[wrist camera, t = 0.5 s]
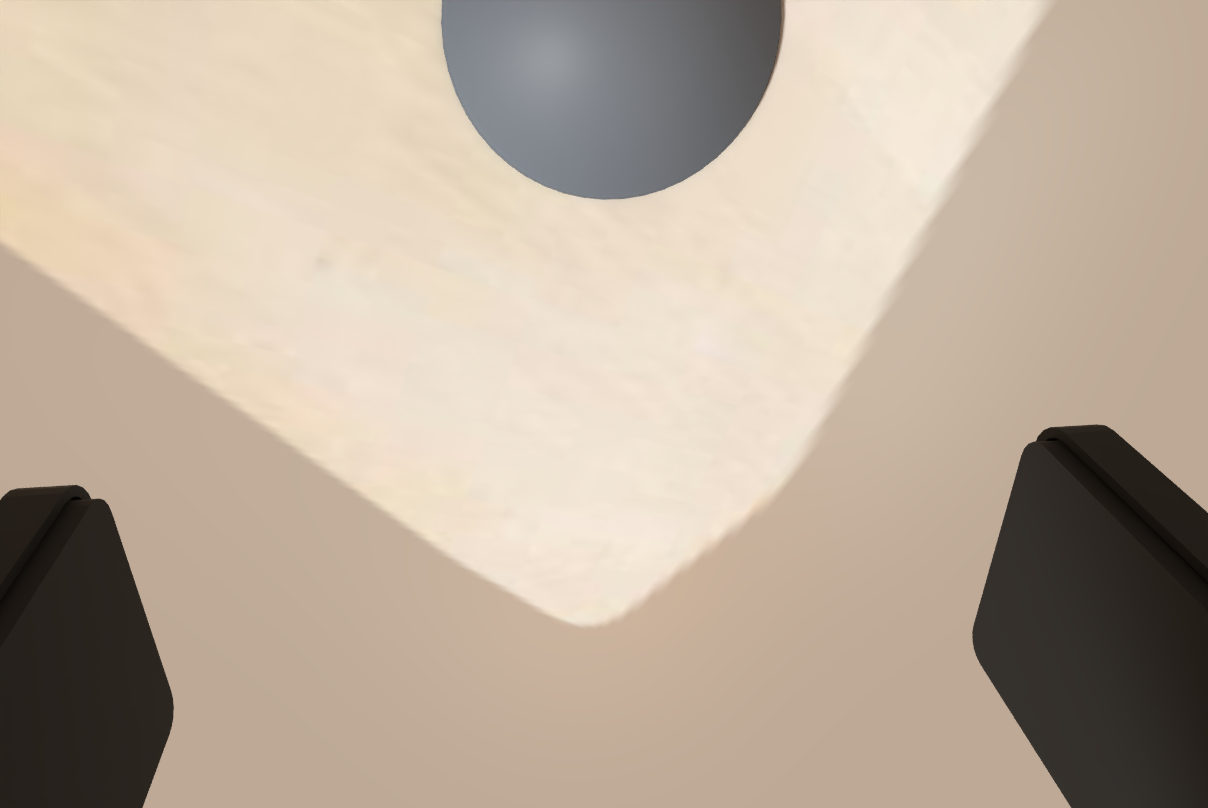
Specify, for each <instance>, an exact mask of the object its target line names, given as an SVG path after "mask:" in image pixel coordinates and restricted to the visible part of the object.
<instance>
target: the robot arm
mask: <svg viewBox="0 0 1208 808" xmlns="http://www.w3.org/2000/svg"><path fill="white" fill-rule="evenodd" d="M972 634H973V645H974V650H975V653H976V656H977V658H978V660H979V662H980V664H981V666H982V667H983V669H984V671H985V672H986V674H987V675H988V677H989V678H990V680H991V682H992V683H993V685H994V686H995V688H996V690H997V691H998V693H999V694H1000V696H1001V697H1002V699H1003V701H1004V702H1005V704H1006V705H1007V707H1008V709H1009V710H1010V711H1011V713H1012V715H1013V716H1014V718H1015V720H1016V721H1017V723H1018V724H1019V726H1020V727H1021V729H1022V731H1023V732H1024V734H1025V735H1026V737H1027V738H1028V740H1029V742H1030V743H1031V745H1032V746H1033V748H1034V750H1035V751H1036V753H1037V754H1038V756H1039V757H1040V759H1041V761H1042V762H1043V764H1044V765H1045V767H1046V768H1047V770H1048V772H1049V773H1050V775H1051V776H1052V778H1053V780H1054V781H1055V783H1056V784H1057V786H1058V787H1059V789H1060V790H1061V792H1062V794H1063V795H1064V797H1065V798H1066V800H1067V801H1068V803H1069V805H1070V806H1071V808H1208V513H1207V512H1206V511H1205V510H1204V509H1203V508H1202V507H1201V506H1199V505H1198V504H1197V503H1196V502H1195V501H1194V500H1193V499H1191V498H1190V497H1189V496H1188V495H1187V494H1186V493H1184V492H1183V491H1182V490H1181V489H1180V488H1179V487H1178V486H1177V485H1175V484H1174V483H1173V482H1172V481H1171V480H1170V479H1169V478H1167V477H1166V476H1165V475H1164V474H1163V473H1162V472H1161V471H1159V470H1158V469H1157V468H1156V467H1155V466H1154V465H1152V464H1151V463H1150V462H1149V461H1148V460H1147V459H1146V458H1144V457H1143V456H1142V455H1141V454H1140V453H1139V452H1138V451H1136V450H1135V449H1134V448H1133V447H1132V446H1131V445H1130V444H1128V443H1127V442H1126V441H1125V440H1124V439H1123V438H1122V437H1120V436H1119V435H1118V434H1117V433H1116V432H1115V431H1113V430H1112V429H1110V428H1108V427H1107V426H1105V425H1082V426H1066V427H1050V428H1048V429H1045V430H1044V431H1043V432H1042V433H1041V434H1040V435H1039V436H1038V438H1037V440H1036V442H1032V443H1030V444H1028V445H1027V446H1026V447H1025V448H1024V451H1023V453H1022V455H1021V459H1020V462H1019V466H1018V470H1017V473H1016V477H1015V480H1014V484H1013V487H1012V491H1011V495H1010V498H1009V502H1008V505H1007V509H1006V512H1005V516H1004V520H1003V523H1002V526H1001V530H1000V534H999V537H998V541H997V544H996V548H995V551H994V555H993V559H992V563H991V566H990V569H989V573H988V576H987V580H986V584H985V587H984V590H983V594H982V598H981V601H980V605H979V608H978V612H977V615H976V619H975V622H974V626H973V633H972ZM173 709H174V707H173V697H172V693H171V690H170V686H169V683H168V680H167V677H166V674H165V672H164V668H163V665H162V662H161V659H160V656H159V653H158V650H157V647H156V644H155V642H154V638H153V635H152V632H151V629H150V626H149V623H148V620H147V617H146V614H145V611H144V608H143V605H142V602H141V599H140V596H139V593H138V590H137V587H136V584H135V581H134V578H133V575H132V572H131V570H130V566H129V563H128V560H127V557H126V554H125V551H124V548H123V545H122V542H121V539H120V536H119V533H118V530H117V527H116V524H115V521H114V518H113V515H112V512H111V510H110V508H109V505H108V504H107V503H106V502H105V501H104V500H102V499H91V498H90V496H89V494H88V493H87V491H86V490H85V489H84V488H83V487H80V486H78V485H69V486H52V487H35V488H18V489H14V490H10V491H9V492H8V493H7V494H5V495H4V496H3V497H2V499H1V500H0V808H142V807H143V805H144V802H145V799H146V796H147V793H148V791H149V788H150V786H151V783H152V780H153V777H154V775H155V772H156V769H157V767H158V764H159V761H160V758H161V755H162V753H163V750H164V747H165V745H166V742H167V739H168V737H169V734H170V730H171V727H172V721H173Z"/></svg>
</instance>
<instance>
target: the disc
mask: <svg viewBox="0 0 1208 808" xmlns="http://www.w3.org/2000/svg"><path fill="white" fill-rule="evenodd" d="M780 23H781V1H780V0H442V21H441V24H442V36H443V48H444V53H445V57H446V62H447V67H448V71H449V74H450V77H451V80H452V83H453V86H454V89H455V92H456V94H457V96H458V98H459V100H460V103H461V105H462V107H463V109H464V111H465V113H466V115H467V116H468V118H469V119H470V121H471V122H472V124H473V125H474V127H475V128H476V130H477V131H478V133H479V134H480V135H481V136H482V138H483V139H484V140H485V141H486V142H487V144H488V145H489V146H490V147H491V148H492V149H493V150H494V151H495V152H496V153H497V154H498V155H499V156H500V157H501V158H502V159H503V160H505V161H506V162H507V163H508V164H509V165H510V166H512V167H513V168H515V169H516V170H518V171H519V172H520V173H522V174H523V175H525V176H526V177H528V178H530V179H532V180H534V181H536V182H538V183H540V184H541V185H543V186H546V187H548V188H551V189H554V190H557V191H559V192H562V193H565V194H570V195H574V196H579V197H583V198H593V199H625V198H631V197H637V196H643V195H647V194H650V193H654V192H657V191H660V190H663V189H666V188H668V187H670V186H673V185H675V184H677V183H679V182H682V181H683V180H685V179H687V178H688V177H690V176H692V175H693V174H695V173H697V172H698V171H700V170H701V169H703V168H704V167H705V166H706V165H708V164H709V163H710V162H712V161H713V160H714V159H715V158H717V157H718V156H719V155H720V154H721V153H722V152H723V151H724V150H725V149H726V148H727V147H728V146H729V145H730V144H731V143H732V142H733V140H734V139H735V138H736V137H737V135H738V134H739V133H740V132H741V130H742V129H743V128H744V127H745V125H746V124H747V122H748V121H749V119H750V117H751V116H752V114H753V112H754V111H755V109H756V108H757V106H758V104H759V102H760V99H761V97H762V95H763V93H764V91H765V89H766V87H767V84H768V81H769V78H770V75H771V72H772V69H773V66H774V62H775V58H776V53H777V48H778V43H779V34H780Z"/></svg>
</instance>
